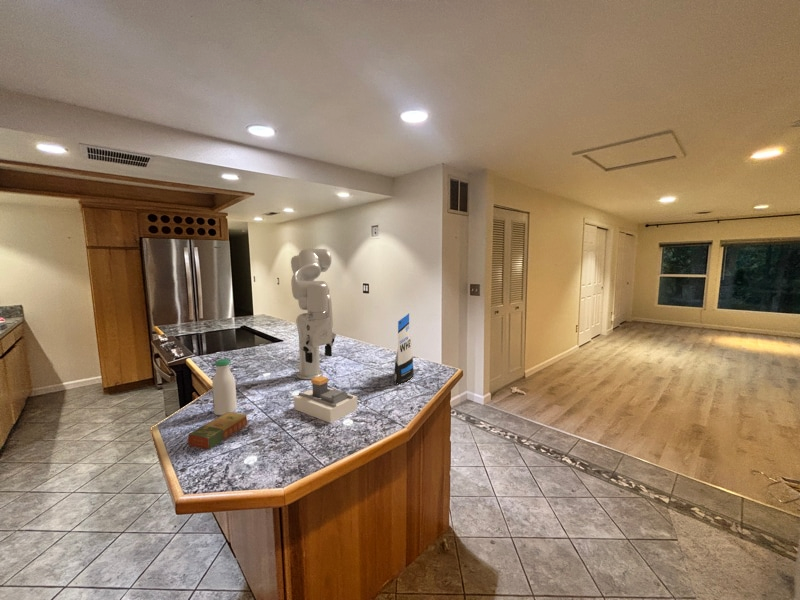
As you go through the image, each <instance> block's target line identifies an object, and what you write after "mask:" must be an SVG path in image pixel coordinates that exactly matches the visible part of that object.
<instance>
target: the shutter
mask: <svg viewBox="0 0 800 600" xmlns="http://www.w3.org/2000/svg"><path fill="white" fill-rule="evenodd" d="M332 389H333V390H331V391H329V392H326V393H324V394H322V395H321V399H322V400H325V401H328V402H330V403H333V404H336V403H338V402H340V401H343V400H345V399H347V398H348V396H347V393H348V392H347V391H346V390H344V389H342V390H339V389H336V388H332Z"/></svg>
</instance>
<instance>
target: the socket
mask: <svg viewBox="0 0 800 600" xmlns="http://www.w3.org/2000/svg"><path fill="white" fill-rule="evenodd" d="M327 388H328V392H329V391H331V390H333V389H334V388H331V387H328V386H327ZM346 393H347V396H348V398H347V399H345V400H343V401H340V402H338V403H336V404H333V403H330V402H328V401H325V400H322V399H321V398H320V399H319V398H316V397H313V388H312V389H309V390H306V391H303V392H298V395H295V396H293V409H294V410H295V411H297V412H298V411H299V412H301V413H303V414H306V415H308V416H311V417H314V418H316V419H319V420H320V421H324V422H326V423H329V424H333V423H334V422H336V421H338V420H340V419H341V418H344V417H345V416H347V415H349V414H351V413H352V412H355V411H356V410H358V396H357V395H355V394H354V395H353V394H351V393H348V392H346Z"/></svg>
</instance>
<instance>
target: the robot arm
mask: <svg viewBox="0 0 800 600" xmlns="http://www.w3.org/2000/svg"><path fill="white" fill-rule="evenodd" d="M331 264H332V254H331V253H330V251H329V250H328V249H326V248H305V249H302V250H300V252H299V253H298V254H297V255H293V256H292V257H291V259H290V267H291V271H292V273H293V275H292V277H291V280H290V281H291V283H290V284H291V293H292V297H293V298H294V300H297V302H298V306H299V309H300V310H302V311H307V312H303V313H300V314H299V315H298V316H297V317H296V329H297V334H298V335H297V336H298V350H299V352H298V353H299V364H298V366H296V367H295V368H296V369H297V370H298V371H299V372H297V373H296V377H297V379H300V380H311V379H313V378H316V377H318V376H322V377H323V375H324V371H323V370H321V369H320V368H321V367H320V347H321V346H324V355H325V357H326V356H327V357H329V358H331V357H333V353H332V352H333V351H332V347H333V345H334V344H333V343H334V342H335V339H336V336H337V333H335V332H333V327H334V326H333V325H334V318H333V304H332V303H333V302H332V296H331V294H330V285H329V284H328V282H326V281H323V280H316V279H318V278H319V277H320V275H321V274H322V273H324V272H325V273H326V272H327V271H328V270H329V268H330V267H331Z"/></svg>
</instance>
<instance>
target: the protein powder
mask: <svg viewBox="0 0 800 600" xmlns="http://www.w3.org/2000/svg"><path fill="white" fill-rule="evenodd" d="M411 341H412V340H411V336H410V313H408V314H406V315H405V316H403V317H402V318H401V319H399V320H398V321H397V351H396V355H395V363H394V371H393V380H395V381H394V383H395V382H396V383H395V384H397V383H398V384H397V386H400V385H402V384H401V383H404V382H407V381H408V380H410V379H411V378H412V377H413V375H414V372H415V371H414V356H413V347H412V342H411ZM413 378H414V377H413ZM413 378H412V379H413ZM412 379H411V380H412ZM411 380H410V381H411ZM408 382H409V381H408ZM408 382H407V383H408ZM399 384H400V385H399ZM404 384H405V383H404Z"/></svg>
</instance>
